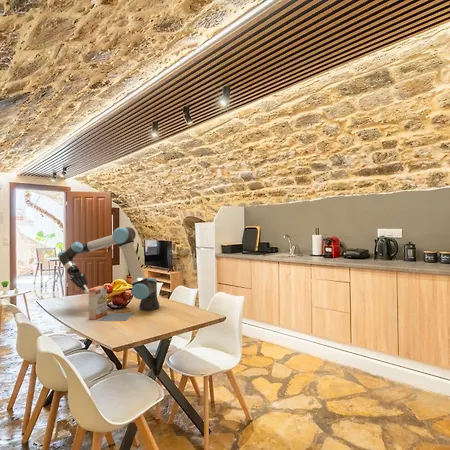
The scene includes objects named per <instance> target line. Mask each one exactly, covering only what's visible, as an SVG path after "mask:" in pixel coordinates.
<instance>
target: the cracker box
mask: <svg viewBox="0 0 450 450" xmlns="http://www.w3.org/2000/svg"><path fill="white" fill-rule="evenodd" d="M88 290H89V294H88V320H99V319H101V318H103V317H104V316H106V315H107V314H108V302H107V300H108V299H107V297H108V295H107V294H108V292H107V291H108V290H107V285H98V286H95V287H91V288H88Z"/></svg>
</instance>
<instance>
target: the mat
mask: <svg viewBox="0 0 450 450" xmlns="http://www.w3.org/2000/svg"><path fill="white" fill-rule="evenodd" d="M133 315H135V312H108V313H107V315H105V316H102V317H100V318H99V319H97V322H126V321H127V320H129V319H130V318H131V317H132V316H133ZM129 317H130V318H129Z"/></svg>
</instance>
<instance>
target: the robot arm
mask: <svg viewBox="0 0 450 450" xmlns="http://www.w3.org/2000/svg"><path fill="white" fill-rule="evenodd" d="M136 234H137V233H136V231H135V229H134V228H132V227H130V226H121V227H116V229H114V231H113V233H112V234H111V235H108V236H104V237H100V238H98V239H95V240H94V239H93V240H91V241H88V242H85V243H81V242H80V241H74V242H73V243H72V244H71V246H69V248H67V249H66V250H61V251H59V252H58V254H57V258H58V260H59V261H60V263H61V265H62V266H63V268H64V269H65V271H66V272H67V273H68V275H69V277H68V280H70V281H71V282H72V283H73V284H74V285H75V286H76V287H77V288H79V289H81V290H82V291H83V292H84V293H85V295H89V287H88V280H87V278H86V273H82V272H81V271H80V269H79V267H78V266H77V264H76V262H75V261H74V260H73V259H74V258H75V257H76V256H78V255H82V254H89V253H91V252H94V251H96V250H99V249H104V248H107V247H110V246H114V245H117V246H118V248H119V249H120V250H121V252H122V254H123V255H122V256H123V257H124V260H125V263H126V266H127V269H128V272H129V274H130V277H131V280H132V281H131V287H132V288H131V293H132V294H131V295H132V296H133V298H134V299H137V300H140V303H139V305H138V306H139V307H138V309H139V310H140V311H145V312H146V311H147V312H149V311H154V310H159V309H160V302H159V299H158V291H157V289H158V286H157V285H158V282H157V278H156V277H154V278H153V277H151V278H150V277H147V276H145V275H144V272H143V270H142V267H141V264H140V260H139V258H138V255H137V253H136V252H137V251H136V249H135V247H134V244H135V239H136V237H137V235H136Z"/></svg>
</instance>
